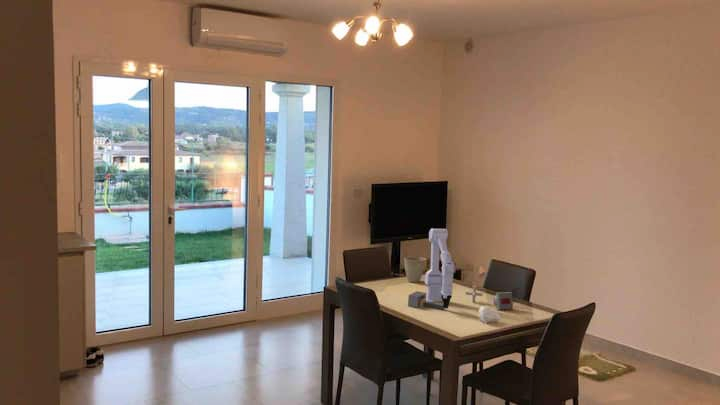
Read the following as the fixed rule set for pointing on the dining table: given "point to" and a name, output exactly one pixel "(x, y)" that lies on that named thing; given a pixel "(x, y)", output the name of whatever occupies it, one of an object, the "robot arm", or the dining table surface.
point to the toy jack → (474, 294)
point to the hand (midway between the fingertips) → (445, 308)
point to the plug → (430, 304)
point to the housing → (415, 299)
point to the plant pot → (414, 268)
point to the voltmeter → (504, 300)
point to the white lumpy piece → (488, 314)
